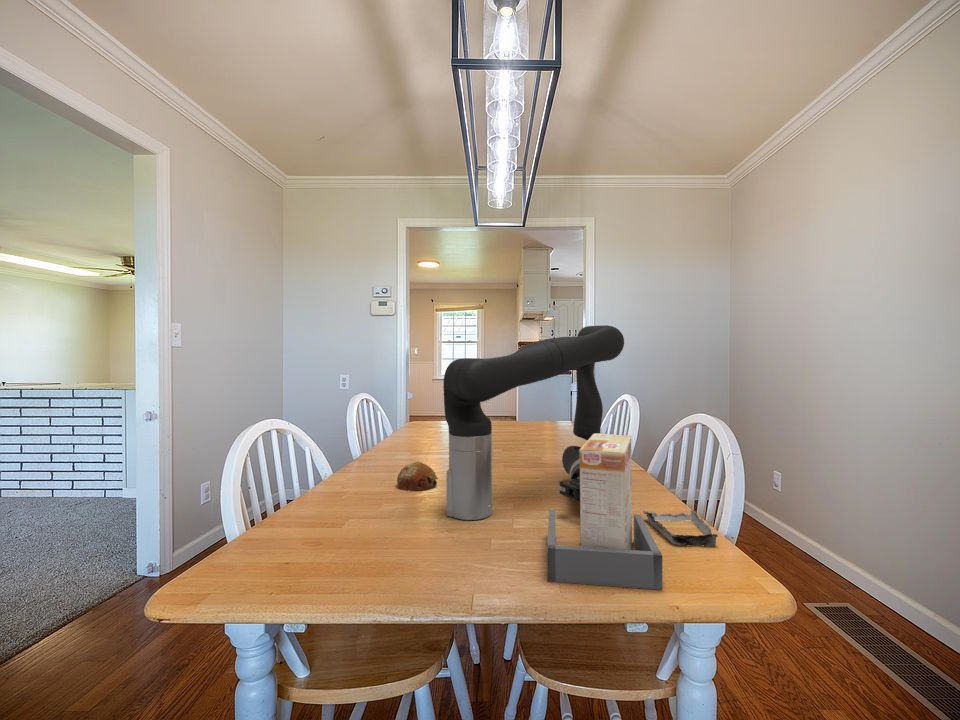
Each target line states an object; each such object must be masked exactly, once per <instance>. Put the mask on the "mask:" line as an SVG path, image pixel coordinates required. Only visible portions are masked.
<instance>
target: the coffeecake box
mask: <svg viewBox="0 0 960 720" xmlns="http://www.w3.org/2000/svg"><path fill="white" fill-rule="evenodd" d="M580 447H581V449H580V450H579V452H580V501H579V502H580V503H579V505H580V506H579V508H580V509H579V511H580V512H579V513H580V516H579V517H580V518H579V519H580V521H579V524H580V527H579V528H580V529H579V530H580V538H579V539H580V541H579V542H580V547H591V548H606V549H622V550H632V545H633V536H632V535H633V534H632V533H633V532H632V531H633V528H632V527H633V526H632V517H633V516H632V512H633V511H632V510H633V509H632V506H633V505H632V503H633V502H632V498H633V497H632V435H622V434H621V435H619V434H612V433H611V434H610V433H601V432H600V433H595V434H593V435H592V436H591V437H590V438H589V440H588V441H587V440H586V442H585V443H584V444H583V445H582V446H580Z"/></svg>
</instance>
